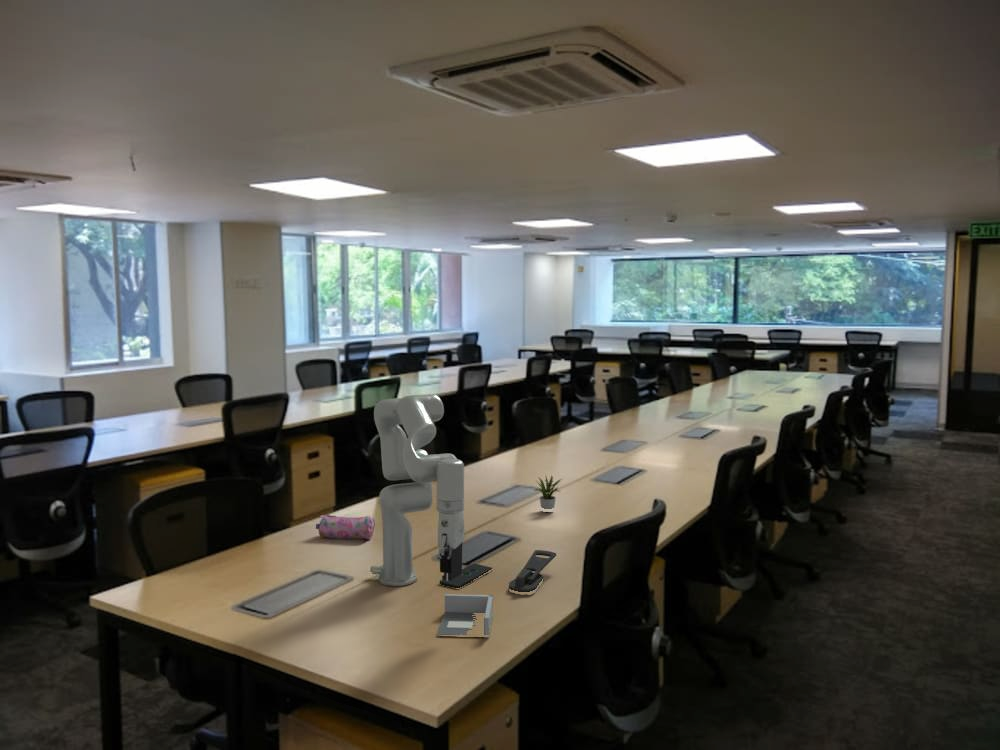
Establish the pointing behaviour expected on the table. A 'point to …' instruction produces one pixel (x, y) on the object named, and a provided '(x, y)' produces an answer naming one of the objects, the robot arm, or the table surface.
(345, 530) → the pencil case
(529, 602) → the table surface
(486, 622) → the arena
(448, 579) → the battery charger
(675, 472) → the table surface
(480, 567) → the smart home device
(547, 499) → the house plant
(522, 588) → the zipper pull
